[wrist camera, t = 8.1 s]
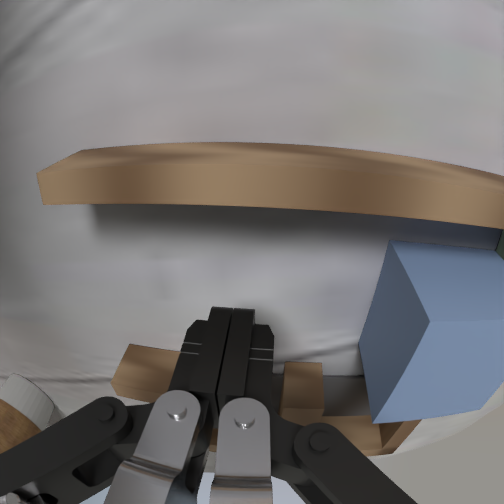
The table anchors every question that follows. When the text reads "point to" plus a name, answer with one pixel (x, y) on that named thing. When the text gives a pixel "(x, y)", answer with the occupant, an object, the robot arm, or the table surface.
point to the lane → (278, 196)
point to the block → (434, 332)
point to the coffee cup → (22, 411)
